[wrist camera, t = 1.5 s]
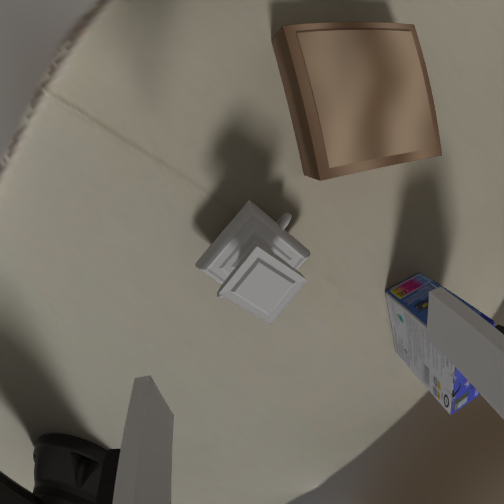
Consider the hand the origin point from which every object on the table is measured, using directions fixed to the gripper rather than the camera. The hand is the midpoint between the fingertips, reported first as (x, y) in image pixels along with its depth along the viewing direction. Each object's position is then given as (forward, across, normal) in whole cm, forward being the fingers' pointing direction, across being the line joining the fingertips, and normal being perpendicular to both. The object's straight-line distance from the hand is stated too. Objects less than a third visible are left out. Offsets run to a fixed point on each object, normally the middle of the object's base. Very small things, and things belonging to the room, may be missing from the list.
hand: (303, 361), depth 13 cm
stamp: (+16, 0, 0) cm, 16 cm away
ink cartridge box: (+16, -16, +13) cm, 26 cm away
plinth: (+16, -12, -11) cm, 22 cm away
